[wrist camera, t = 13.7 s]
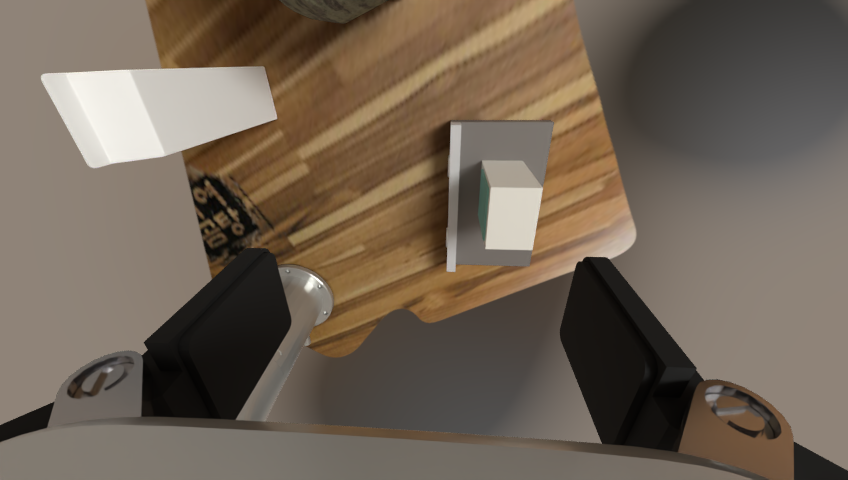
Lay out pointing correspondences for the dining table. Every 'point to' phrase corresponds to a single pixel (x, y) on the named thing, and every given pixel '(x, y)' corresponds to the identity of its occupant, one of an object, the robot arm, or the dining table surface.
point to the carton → (508, 205)
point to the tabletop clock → (332, 8)
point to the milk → (157, 109)
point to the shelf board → (464, 173)
